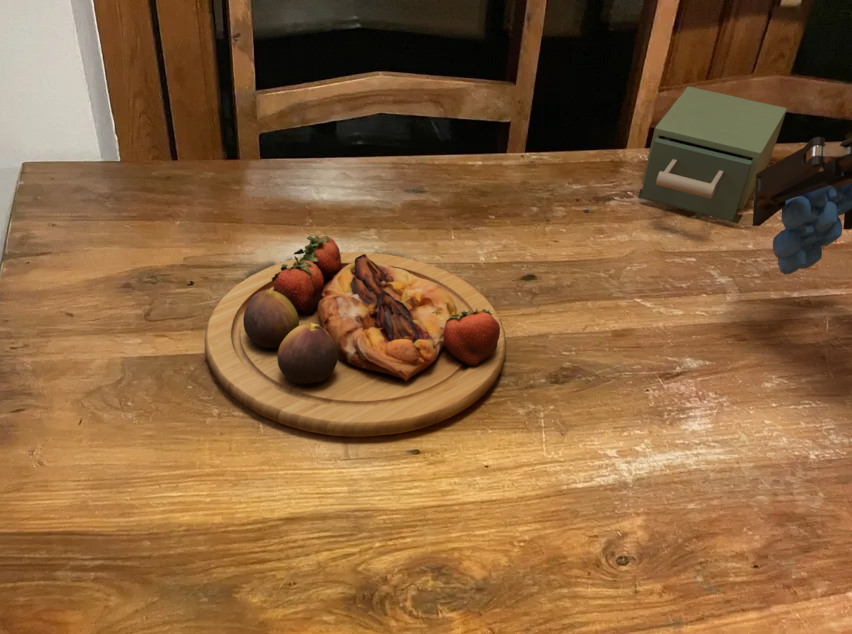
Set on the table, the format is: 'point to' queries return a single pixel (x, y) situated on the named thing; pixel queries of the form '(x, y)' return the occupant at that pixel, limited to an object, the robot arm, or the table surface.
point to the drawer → (696, 177)
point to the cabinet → (724, 129)
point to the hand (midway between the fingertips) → (802, 215)
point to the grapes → (810, 226)
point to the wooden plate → (355, 342)
